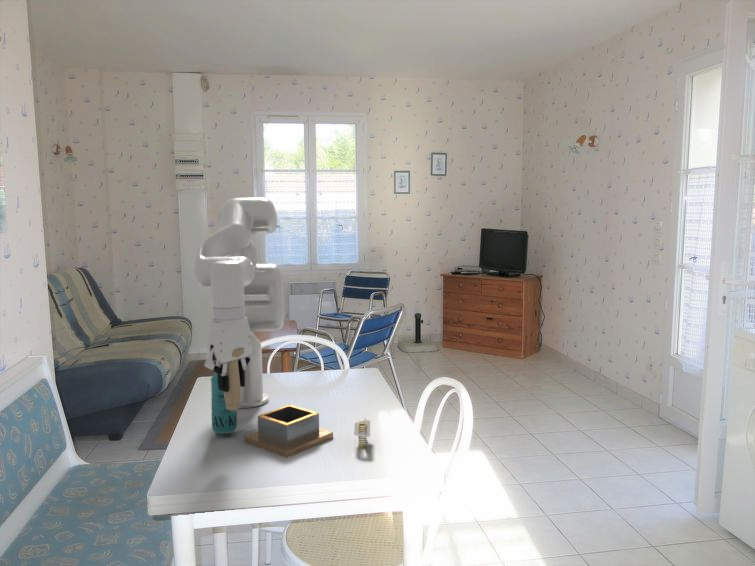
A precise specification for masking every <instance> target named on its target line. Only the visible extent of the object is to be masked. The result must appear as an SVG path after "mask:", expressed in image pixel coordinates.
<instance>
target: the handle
mask: <svg viewBox="0 0 755 566" xmlns="http://www.w3.org/2000/svg"><path fill="white" fill-rule="evenodd" d="M243 353H244V348H242V349H238V350H234V351H232V357H239V356H241V355H242V354H243ZM226 375H228V377H229V391H228V392H224V398H225V403H226V409H227V410H230V411H233V410H236V411H237V410H240V409H239V407H240V395H241V388H240V387H241V386H240V376H239V366H238V360H234V361H231V362H228V363H227V371H226Z"/></svg>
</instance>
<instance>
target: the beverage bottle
mask: <svg viewBox="0 0 755 566" xmlns="http://www.w3.org/2000/svg"><path fill="white" fill-rule="evenodd" d="M214 365H216V361H214ZM221 366H222V365H221ZM210 385H211V386H210V387H211V388H210V391H211V394H210V395H211V398H210V400H211V428H212V431H213V433H216V434H229V433H232V432H234V431H236V429H237V425H238V417H237V410H233V411H230V410H227V409H226V403H225V398H224V391H221V390H219V387H218V375H217V374H215V373H214V374H213V375H212V376H211V377H210Z"/></svg>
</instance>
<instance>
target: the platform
mask: <svg viewBox="0 0 755 566" xmlns="http://www.w3.org/2000/svg"><path fill="white" fill-rule="evenodd" d="M353 430H354V431H353V432H354V436H357V437H358V449H359V450H360V449H363V450H365V452H367V438H369V437H371V420H369V419H368V420H367V417H364V420H361V421H360V420H359V421H358V422H355V423H354V429H353Z"/></svg>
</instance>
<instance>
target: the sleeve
mask: <svg viewBox="0 0 755 566" xmlns="http://www.w3.org/2000/svg"><path fill="white" fill-rule="evenodd" d="M319 413H320V412H316V411H314V410H310V409H307V408H303V407H300V406H296V405H294V404H288V405H284V406H282V407H278V408H276V409H273V410H269V411H266V412H264V413H261V414H258V415H257V430H256V431H253V432H252V433H248V434H246V435H244V441H243V442H244V443H247V444H249V445H252V446H255V447H257V448H261V449H263V450H266V451H268V452H271V453H274V454H277V455H279V456H281V457H284V458H289V457H291V456H294V455H296V454H299V453H302V452H303V451H305V450H308V449H311V448H312V447H315V446H317V445H319V444H321V443H324V442H326V441H329V440H331V439H333V438H334V431H332V430H328V429H324V428H321V427H320V414H319Z"/></svg>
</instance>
